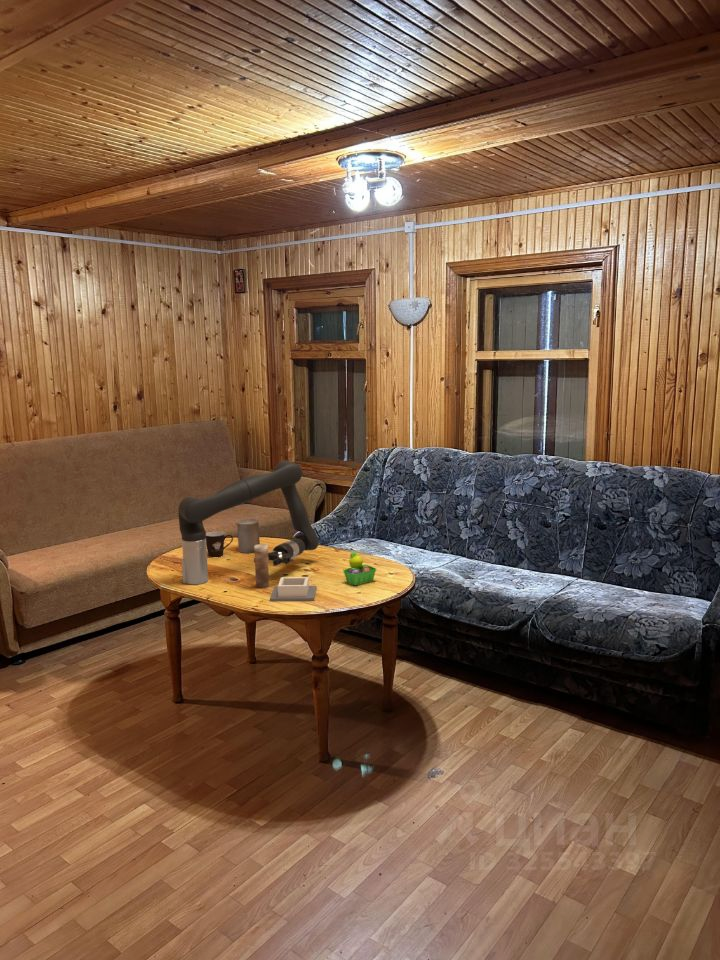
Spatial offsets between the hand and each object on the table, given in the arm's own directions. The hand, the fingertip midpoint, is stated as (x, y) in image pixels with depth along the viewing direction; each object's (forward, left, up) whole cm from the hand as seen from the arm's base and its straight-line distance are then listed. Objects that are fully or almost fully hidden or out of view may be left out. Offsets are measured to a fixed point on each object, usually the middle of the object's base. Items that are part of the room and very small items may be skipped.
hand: (264, 562), depth 280 cm
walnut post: (-1, -2, -9) cm, 9 cm away
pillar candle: (-14, +49, -9) cm, 52 cm away
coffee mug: (-26, +41, -9) cm, 49 cm away
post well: (+12, -12, -9) cm, 19 cm away
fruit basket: (+36, +3, -9) cm, 38 cm away
